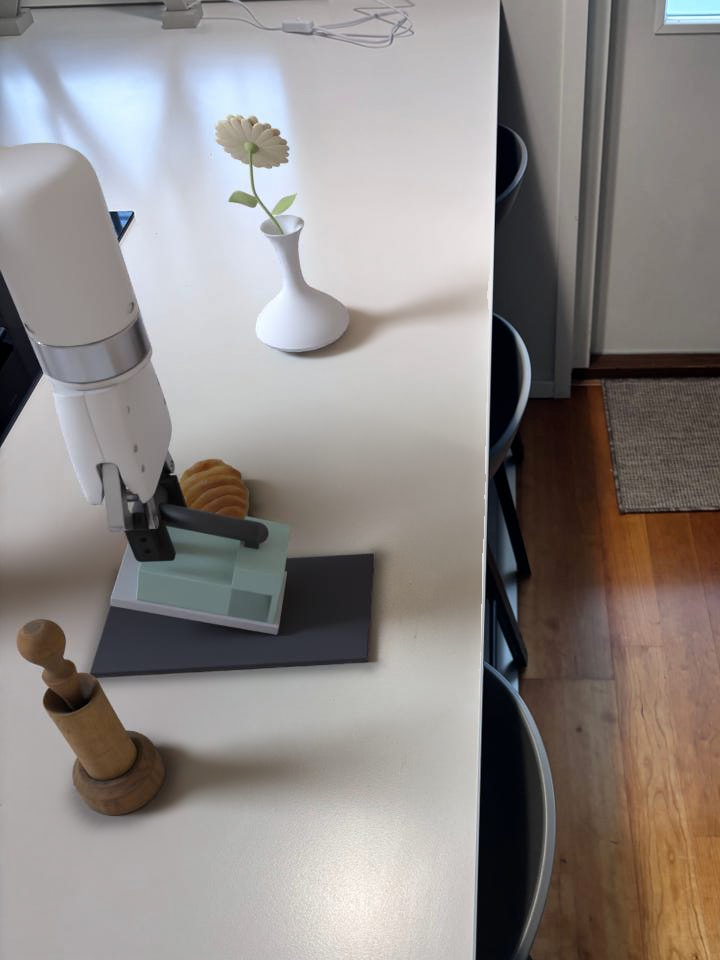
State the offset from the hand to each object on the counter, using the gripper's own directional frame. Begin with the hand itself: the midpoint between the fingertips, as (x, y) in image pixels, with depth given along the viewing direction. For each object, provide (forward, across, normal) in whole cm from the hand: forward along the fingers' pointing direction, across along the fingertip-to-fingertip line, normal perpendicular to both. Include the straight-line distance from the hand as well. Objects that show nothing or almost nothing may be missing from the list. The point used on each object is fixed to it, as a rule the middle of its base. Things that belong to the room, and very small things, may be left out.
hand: (162, 534), depth 82 cm
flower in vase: (+10, -47, +5) cm, 48 cm away
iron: (+7, 0, +2) cm, 7 cm away
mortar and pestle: (+10, +17, -2) cm, 20 cm away
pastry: (+10, -15, 0) cm, 18 cm away
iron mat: (+10, 0, +4) cm, 11 cm away
